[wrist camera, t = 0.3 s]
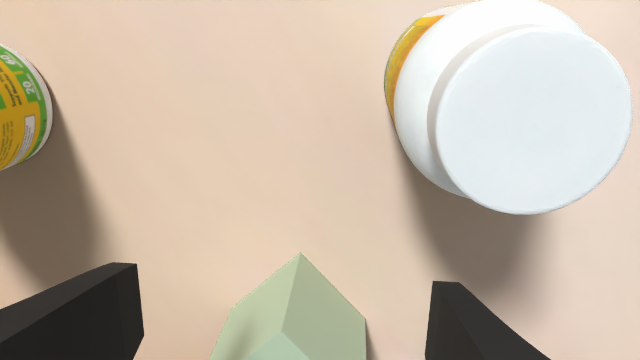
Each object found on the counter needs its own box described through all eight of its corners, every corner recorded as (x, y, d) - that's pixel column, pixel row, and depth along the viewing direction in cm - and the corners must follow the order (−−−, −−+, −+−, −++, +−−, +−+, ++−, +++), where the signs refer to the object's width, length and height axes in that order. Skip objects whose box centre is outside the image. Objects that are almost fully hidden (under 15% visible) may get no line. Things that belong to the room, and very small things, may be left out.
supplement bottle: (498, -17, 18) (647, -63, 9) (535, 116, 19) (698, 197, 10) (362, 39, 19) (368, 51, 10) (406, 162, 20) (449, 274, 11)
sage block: (365, 317, 23) (368, 415, 17) (296, 367, 24) (277, 474, 18) (300, 251, 22) (281, 331, 16) (232, 306, 23) (191, 399, 17)
